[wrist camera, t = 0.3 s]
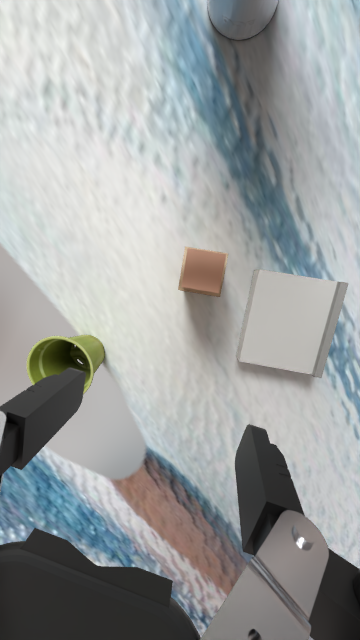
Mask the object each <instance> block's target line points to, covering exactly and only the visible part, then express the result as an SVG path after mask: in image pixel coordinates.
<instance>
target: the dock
mask: <svg viewBox="0 0 360 640" xmlns="http://www.w3.org/2000/svg"><path fill="white" fill-rule="evenodd" d="M347 287H348V283H345V282H335V281H329V280H323V279H317V278H310V277H304V276H298V275H292V274H286V273H280V272H273V271H267V270H261V269H258V270H254V274H253V279H252V284H251V288H250V293H249V298H248V302H247V307H246V312H245V316H244V321H243V326H242V330H241V335H240V339H239V344H238V349H237V353H236V356H237V358H238V360H239V361H240V362H245V363H251V364H256V365H262V366H267V367H273V368H278V369H284V370H289V371H295V372H300V373H306V374H311V375H313V376H314V377H319V378H321V377H322V374H323V370H324V367H325V363H326V360H327V356H328V353H329V349H330V346H331V342H332V339H333V335H334V332H335V328H336V325H337V321H338V318H339V314H340V311H341V307H342V304H343V301H344V297H345V294H346V290H347Z"/></svg>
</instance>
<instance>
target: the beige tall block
mask: <svg viewBox="0 0 360 640" xmlns="http://www.w3.org/2000/svg"><path fill="white" fill-rule="evenodd" d="M227 258H228V254H227V253H221V252H215V251H209V250H202V249H196V248H190V247H185V251H184V257H183V263H182V269H181V276H180V282H179V288H178V290H181V291H187V292H193V293H199V294H205V295H211V296H217V297H220V294H221V289H222V284H223V279H224V274H225V268H226V263H227Z"/></svg>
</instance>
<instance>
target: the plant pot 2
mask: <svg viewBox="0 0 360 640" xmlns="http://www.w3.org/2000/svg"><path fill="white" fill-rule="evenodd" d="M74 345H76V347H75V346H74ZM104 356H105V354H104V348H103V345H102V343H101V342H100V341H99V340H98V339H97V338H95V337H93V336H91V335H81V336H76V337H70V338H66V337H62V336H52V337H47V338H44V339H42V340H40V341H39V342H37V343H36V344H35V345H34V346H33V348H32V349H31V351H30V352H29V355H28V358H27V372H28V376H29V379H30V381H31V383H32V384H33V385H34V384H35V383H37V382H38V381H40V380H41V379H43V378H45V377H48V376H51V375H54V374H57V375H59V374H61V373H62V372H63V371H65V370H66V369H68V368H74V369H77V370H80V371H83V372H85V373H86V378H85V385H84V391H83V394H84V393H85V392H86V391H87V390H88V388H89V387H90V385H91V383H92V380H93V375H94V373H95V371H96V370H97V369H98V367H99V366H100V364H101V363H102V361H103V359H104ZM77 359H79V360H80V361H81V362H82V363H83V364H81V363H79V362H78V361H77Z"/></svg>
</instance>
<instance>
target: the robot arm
mask: <svg viewBox="0 0 360 640" xmlns="http://www.w3.org/2000/svg"><path fill="white" fill-rule="evenodd" d="M277 3H278V0H208V12H209V16H210V19H211V21H212V23H213V25H214V26H215V28H216V29H217V30H218V31H219V32H220V33H221V34H222V35H224V36H226V37H228V38H231V39H235V40H243V39H247V38H250V37H252V36H254V35H256V34H258V33H259V32H260V31H262V30H263V29H264V28H265V27H266V25H267V24H268V23H269V22H270V20H271V18H272V17H273V15H274V12H275V9H276V7H277ZM85 378H86V373H85V372H83V371H80V370H77V369H74V368H68V369H66V370H65V371H63V372H62V373H61V374H59V375H57V374H54V375H51V376H48V377H45V378H43V379H41V380H40V381H38V382H37V383H35V384H34V385H32V386H31V387H29V388H28V389H27V390H26V391H23V392H21V393H20V394H18V395H17V396H15V397H14V398H13V399H11V400H9V401H8V402H6V403H5V404H3V405H2V406H0V492H1V486H2V481H3V473H4V472H5V471H6V470H7V469H8V468H9V467H10V466H12V467H15V468H18V469H20V470H22V469H23V468H24V467H25V466H26V465H27V464H28V462H29V461H30V460H31V459H32V458H33V457H34V456H35V455H36V454H37V453H38V452H39V451H40V450H41V449H42V448H43V447H44V446H45V444H46V443H47V442H48V441H49V440H50V439H51V438H52V437H53V436H54V435H55V434H56V433H57V432H58V431H59V430H60V428H62V426H63V425H64V424H65V423H66V422H67V421H68V420H69V419H70V418H71V417H72V416H73V415H74V413H76V411H77V410H78V408H79V407H80V404H81V402H82V398H83V391H84V385H85ZM287 468H288V467H287V464H286V461H285V458H284V456H283V454H282V453H281V452H280V450H279V449H278V448H277V446H276V445H274V444H271V443H270V442H269V438H268V435H267V432H266V430H265V429H262V428H259V427H256V426H253V425H250V424H248V425H247V427H246V429H245V432H244V434H243V437H242V439H241V442H240V444H239V447H238V449H237V453H236V457H235V471H236V482H237V493H238V503H239V514H240V525H241V536H242V546H243V552H246V553H249V554H252V555H254V557H253V558H252V559H251V560H250V562H249V563H248V565H247V566H246V568H245V570H244V571H243V573H242V574H241V576H240V577H239V579H238V581H237V582H236V584H235V585H234V587H233V588H232V590H231V592H230V593H229V595H228V596H227V598H226V600H225V601H224V603H223V604H222V606H221V607H220V609H219V611H218V612H217V614H216V615H215V617H214V619H213V620H212V622H211V623H210V625H209V626H208V628H207V630H206V631H205V633H204V634H203V636H202V637H200V635H199V633H198V631H197V629H196V628H195V626H194V624H193V622H192V621H191V619H190V618H189V616H188V615H187V614H186V612H185V611H184V610H183V609H182V607H181V606H180V605H179V604H178V603H177V602H176V601H175V600H174V599H173V598H171V590H172V583H173V581H172V580H169V579H167V578H164V577H161V576H159V575H156V574H154V573H151V572H148V571H146V570H143V569H141V568H138V567H101V566H97V565H95V564H94V563H92V562H91V561H90V560H89V559H88V558H87V557H86V556H84V555H83V554H82V553H81V552H80V551H79V550H78V549H76V548H75V547H74V546H73V545H72V544H71V543H70V542H68V541H67V540H65V539H62V538H60V537H57V536H54V535H52V534H49V533H47V532H44V531H41V530H39V529H36V528H34V530H33V531H32V533H31V534H30V536H29V537H28V538H27V540H26V541H20V542H11V543H7V544H2V545H0V640H308V639H309V636H310V637H312V638H313V639H314V640H360V569H358V568H357V567H355V566H354V565H352V564H351V563H349V562H348V561H346V560H345V559H343V558H342V557H340V556H339V555H337V554H336V553H334V552H333V551H332V550H330V549H329V548H328V546H327V543H326V541H325V539H324V537H323V535H322V534H321V532H320V531H319V529H318V528H317V527H316V526H315V525H314V524H313V523H312V522H311V521H310V520H309V519H308V518H307V517H305V515H304V513H303V510H302V507H301V504H300V501H299V498H298V495H297V493H296V490H295V487H294V484H293V481H292V479H291V475H290V473H289V470H288V469H287Z"/></svg>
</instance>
